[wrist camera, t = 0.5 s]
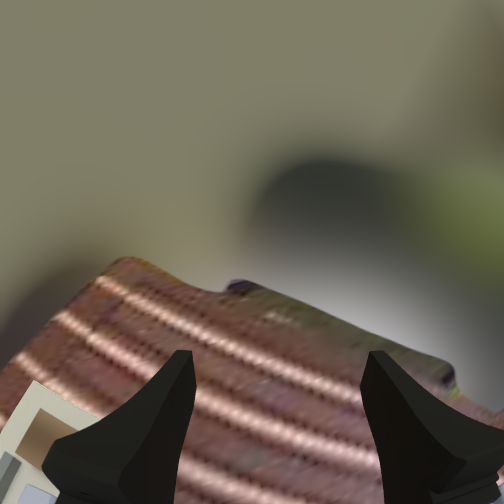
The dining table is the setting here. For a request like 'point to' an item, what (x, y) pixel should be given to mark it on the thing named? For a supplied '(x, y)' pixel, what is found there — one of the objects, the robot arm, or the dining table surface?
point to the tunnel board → (5, 444)
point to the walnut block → (41, 437)
